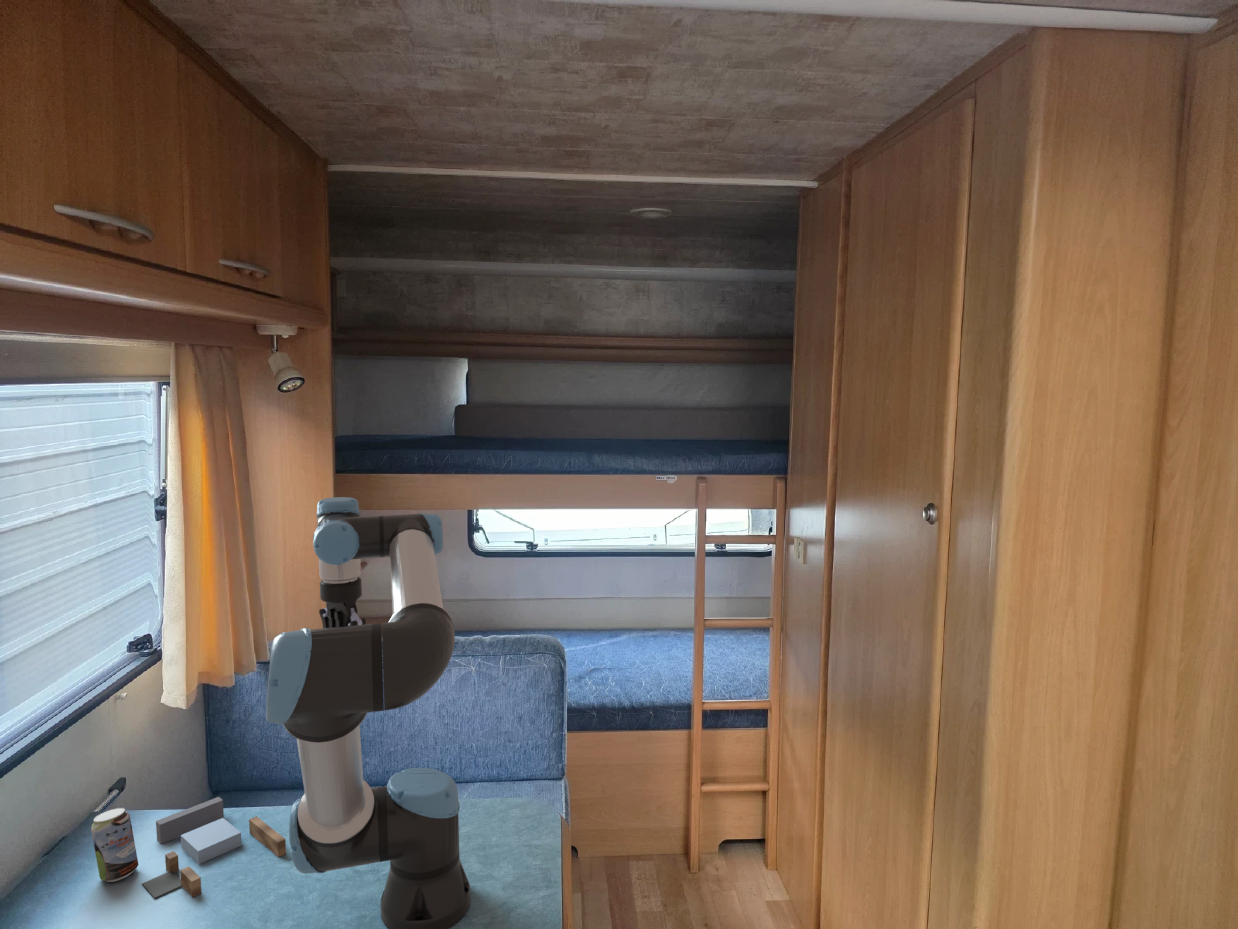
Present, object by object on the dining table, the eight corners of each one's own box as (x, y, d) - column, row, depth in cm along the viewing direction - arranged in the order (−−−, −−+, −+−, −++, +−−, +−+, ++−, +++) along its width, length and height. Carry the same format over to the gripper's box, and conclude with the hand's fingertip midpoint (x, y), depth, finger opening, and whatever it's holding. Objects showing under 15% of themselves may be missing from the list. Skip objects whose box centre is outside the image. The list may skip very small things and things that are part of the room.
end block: (223, 818, 163) (222, 800, 163) (160, 844, 154) (159, 824, 154) (219, 814, 165) (218, 796, 164) (157, 840, 156) (155, 821, 155)
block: (241, 847, 154) (241, 832, 154) (198, 866, 148) (198, 851, 148) (223, 831, 159) (222, 817, 159) (181, 849, 153) (180, 835, 153)
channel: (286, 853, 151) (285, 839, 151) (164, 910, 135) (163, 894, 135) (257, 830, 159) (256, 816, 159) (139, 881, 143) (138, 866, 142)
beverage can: (120, 889, 141) (115, 825, 139) (85, 883, 142) (80, 820, 141) (147, 867, 147) (143, 807, 146) (114, 862, 148) (109, 802, 147)
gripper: (377, 580, 149) (380, 700, 151) (340, 569, 157) (344, 683, 160) (340, 588, 143) (345, 712, 146) (304, 576, 152) (309, 694, 154)
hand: (344, 697), depth 153 cm, fingers closed
